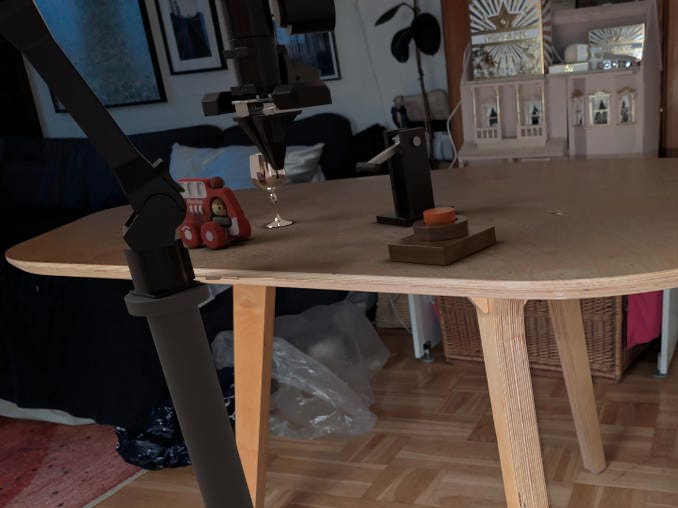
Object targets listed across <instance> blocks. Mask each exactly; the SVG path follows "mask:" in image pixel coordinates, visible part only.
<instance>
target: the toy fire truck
mask: <svg viewBox="0 0 678 508" xmlns="http://www.w3.org/2000/svg"><path fill="white" fill-rule="evenodd" d="M176 182H178V183H179V184H180V185H181V186H182V187H183V188H184V189H185V192H180V194H181V195H182V196H183V198H184V200H185V202H186V206H187V213H186V218H185V219H186V221H185V222H184V221H183V223H182V224H181V225H180V226H179V234H180V235H179V237H181V238H182V241H183V244H185V246H187V247H188V248H191V249H193V248H194V249H195V248H197V247H200V246H202V245H203V244H205V246H207V247H208V248H209V249H211V250H217V249H219V248H222V247H224V246H225V245H226V241H227V240H230V239H231V240H232V239H235V240H237V241H244V240H247V239H249V238H250V237H251V235H252V226H251V223H250V220H249V219H248V218H247V217H246V216H245V211H244V210H243V207H242V206H241V204H240V203H239V201H238V199H237V197H236V196H235V194H234V192H233V190H232V189H231V188H230V187H228V186H226V183H225V180H224V178H223V177H222V176H219V175H215V176H213V177H212V178H211V177H185V178H181V179H178V180H177V181H176Z"/></svg>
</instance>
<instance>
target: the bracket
mask: <svg viewBox="0 0 678 508" xmlns="http://www.w3.org/2000/svg"><path fill="white" fill-rule="evenodd" d="M382 134H383V140H384V141H383V142H384V147H385V150H386V149H388V148H389V147H390V146H392V145H393V144H394V142H393V140H392V138H393V137H395V136H396V135H398V134H399V140H400V147H401V153H398V152H397V153H395V154H394V155H392V156H391V157H390V158H388V159H387V160H386V161H387V167H388V173H389V180H390V188H391V193H392V199H393V200H392V201H393V206H394V210H392V211H387V212H383V213H380V214H377V215H375V218H376V224H383V225H391V226H399V227H406V228H407V227H410V226H413V224H414V223H415V222H416V221H419V220H422V219H424V215H423V212H424V211H426V210H429V209H434V208H441V207H451V208H454V209H455V206H454V205H449V204H436V203H435V197H434V189H433V182H432V174H431V168H430V167H431V166H430V159H429V151H428V143H427V136H426V128H425V126H422V127H421V126H420V127H414V128H410V127H401V128H395V129H390V130H383V131H382ZM455 210H456V209H455Z"/></svg>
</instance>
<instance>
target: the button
mask: <svg viewBox="0 0 678 508" xmlns="http://www.w3.org/2000/svg"><path fill="white" fill-rule="evenodd" d="M454 208H455V207H454ZM454 208H451V207H441V208H434V209H429V210H426V211H424V212H423V215H424V222H425V225H442V224H447V223H452V222H455V221H456V216H455V215H456V209H454Z"/></svg>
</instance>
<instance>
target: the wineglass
mask: <svg viewBox="0 0 678 508" xmlns="http://www.w3.org/2000/svg"><path fill="white" fill-rule="evenodd" d="M249 174H250V178H251V181H252V183H253V185H254V186H255V187H256V188H257V189H258V190H260V191H262V192H265V193H266V192H267V193H270V200H271V202H272V204H273V208H274V212H275V220H273V221H272V222H270V223H268V224H266V226H265V227H266V228H279V227H285V226H289V225H291V224H292V223H293V221H292V220H285V219H283V218H281V216H280V214H279V209H278V196H277V195H276V192H277V191H279V190H280V189H281V188H283V187H284V186H285V184H286V182H287V170H286V167H285V166H284V169H283V170H278V171H275V170H273V169H272V167H271V166H270V164H269V163H268V162H267V160H266V159H265V157H264V156H263V155H262V153H261V152H256V153H251V154H249Z"/></svg>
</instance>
